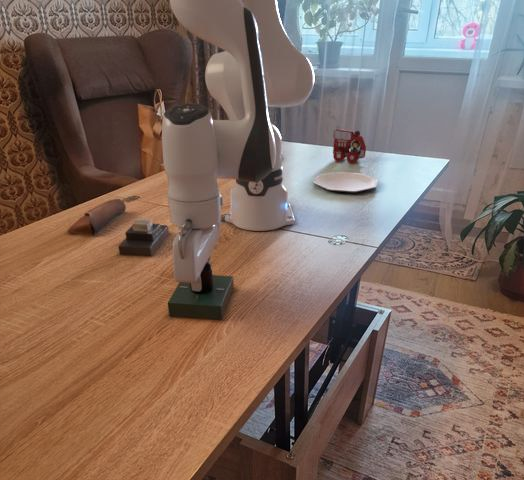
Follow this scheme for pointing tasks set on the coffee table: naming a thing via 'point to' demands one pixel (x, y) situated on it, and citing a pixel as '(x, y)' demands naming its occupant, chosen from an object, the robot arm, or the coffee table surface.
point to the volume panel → (202, 300)
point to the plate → (345, 182)
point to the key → (142, 225)
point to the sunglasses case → (97, 218)
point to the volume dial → (205, 280)
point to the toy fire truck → (348, 146)
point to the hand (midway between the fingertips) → (201, 282)
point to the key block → (143, 241)
